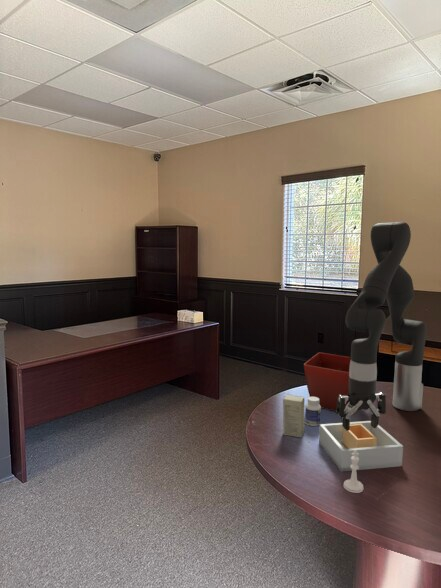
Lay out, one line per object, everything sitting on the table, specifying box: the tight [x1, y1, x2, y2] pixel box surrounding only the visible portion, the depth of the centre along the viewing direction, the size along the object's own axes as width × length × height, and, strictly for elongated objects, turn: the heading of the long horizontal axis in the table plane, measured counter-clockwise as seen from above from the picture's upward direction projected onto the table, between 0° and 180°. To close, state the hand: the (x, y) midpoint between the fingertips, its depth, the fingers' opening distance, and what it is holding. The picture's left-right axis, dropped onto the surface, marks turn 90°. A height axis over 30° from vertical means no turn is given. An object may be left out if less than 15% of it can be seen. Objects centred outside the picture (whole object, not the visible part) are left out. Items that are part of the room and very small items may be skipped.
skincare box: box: [282, 394, 305, 438], centre depth 134 cm, size 6×4×12 cm
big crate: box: [318, 420, 404, 473], centre depth 122 cm, size 18×16×6 cm
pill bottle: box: [304, 396, 322, 427], centre depth 141 cm, size 5×5×9 cm
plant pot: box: [303, 352, 351, 412], centre depth 156 cm, size 19×19×17 cm
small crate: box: [342, 424, 377, 449], centre depth 122 cm, size 6×9×6 cm, turn 9°
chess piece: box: [343, 451, 364, 494], centre depth 106 cm, size 5×5×10 cm
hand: (360, 428), depth 121 cm, fingers open, 8 cm apart
